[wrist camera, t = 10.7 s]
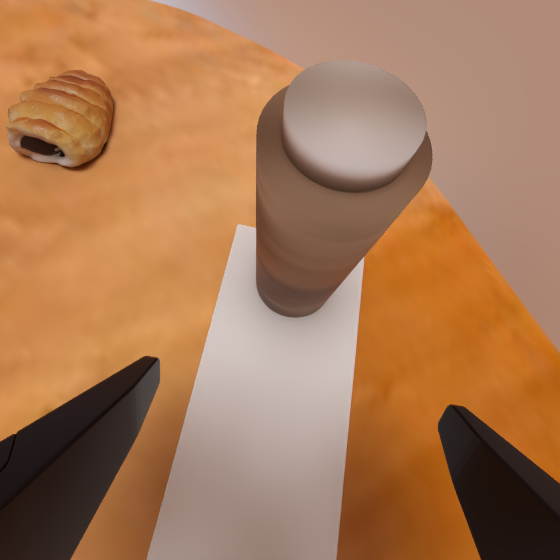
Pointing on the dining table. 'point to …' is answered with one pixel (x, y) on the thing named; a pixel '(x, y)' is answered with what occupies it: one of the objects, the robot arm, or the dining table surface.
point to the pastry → (62, 119)
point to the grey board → (263, 428)
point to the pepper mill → (332, 177)
